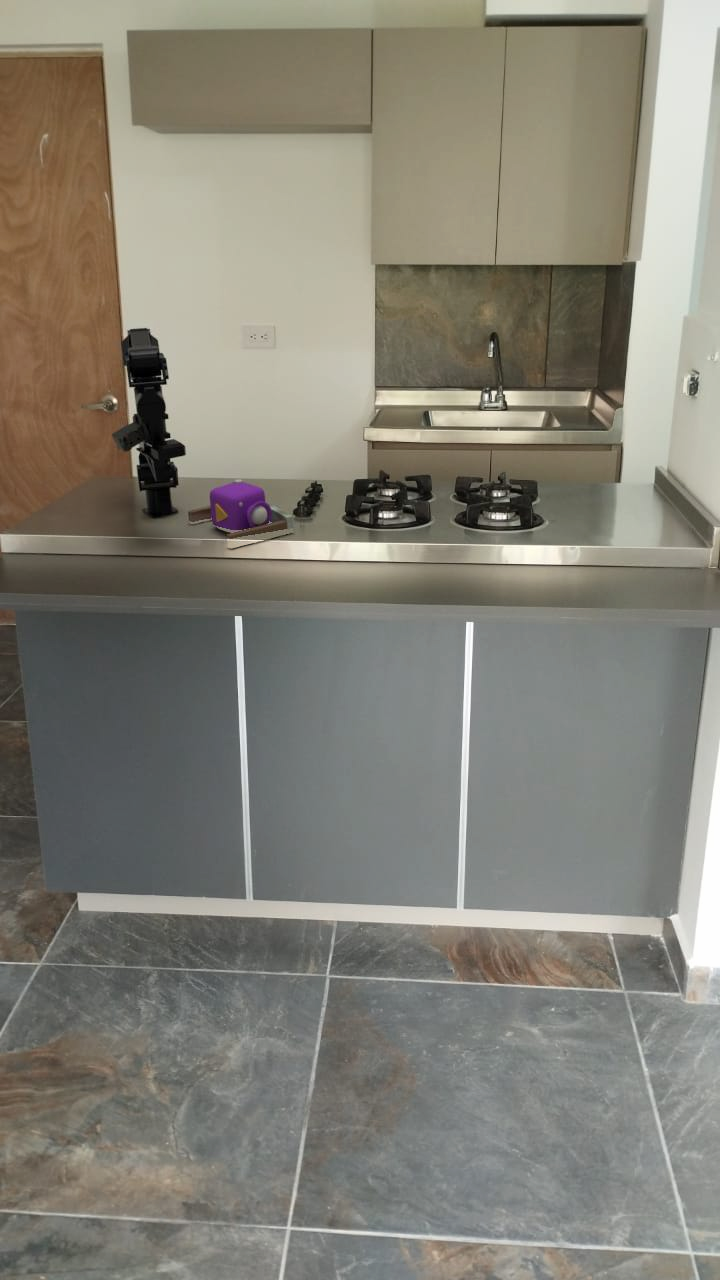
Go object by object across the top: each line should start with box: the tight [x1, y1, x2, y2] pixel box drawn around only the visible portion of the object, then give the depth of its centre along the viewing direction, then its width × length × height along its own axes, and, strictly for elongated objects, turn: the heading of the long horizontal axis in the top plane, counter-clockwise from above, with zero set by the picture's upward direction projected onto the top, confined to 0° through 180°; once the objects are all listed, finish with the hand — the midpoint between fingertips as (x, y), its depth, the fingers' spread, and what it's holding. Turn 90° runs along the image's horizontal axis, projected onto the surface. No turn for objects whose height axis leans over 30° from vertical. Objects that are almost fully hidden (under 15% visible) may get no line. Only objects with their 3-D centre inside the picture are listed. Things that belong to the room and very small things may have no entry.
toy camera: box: [209, 478, 271, 530], centre depth 237 cm, size 11×14×10 cm
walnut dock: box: [187, 501, 294, 539], centre depth 239 cm, size 20×16×4 cm
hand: (158, 480), depth 233 cm, fingers closed
